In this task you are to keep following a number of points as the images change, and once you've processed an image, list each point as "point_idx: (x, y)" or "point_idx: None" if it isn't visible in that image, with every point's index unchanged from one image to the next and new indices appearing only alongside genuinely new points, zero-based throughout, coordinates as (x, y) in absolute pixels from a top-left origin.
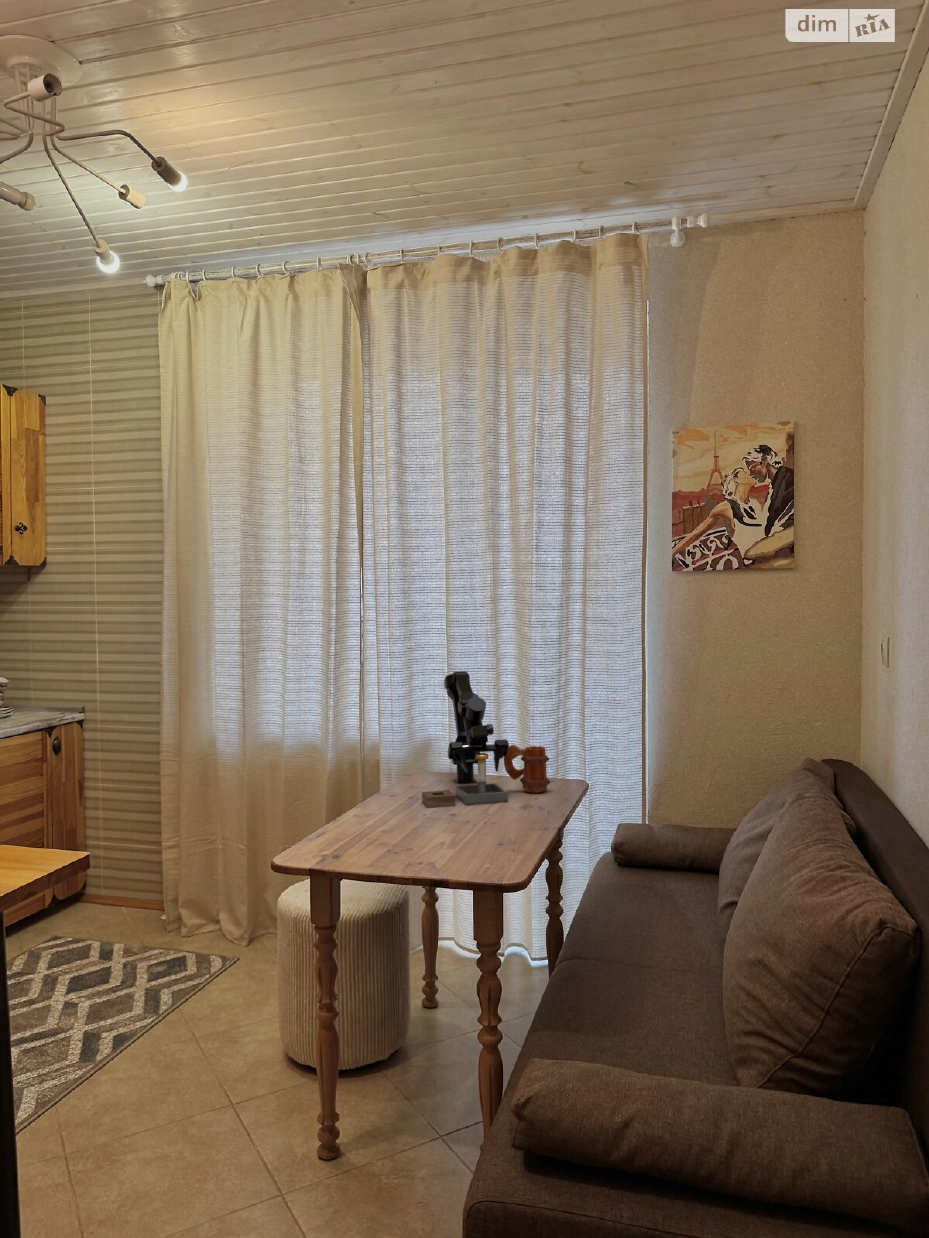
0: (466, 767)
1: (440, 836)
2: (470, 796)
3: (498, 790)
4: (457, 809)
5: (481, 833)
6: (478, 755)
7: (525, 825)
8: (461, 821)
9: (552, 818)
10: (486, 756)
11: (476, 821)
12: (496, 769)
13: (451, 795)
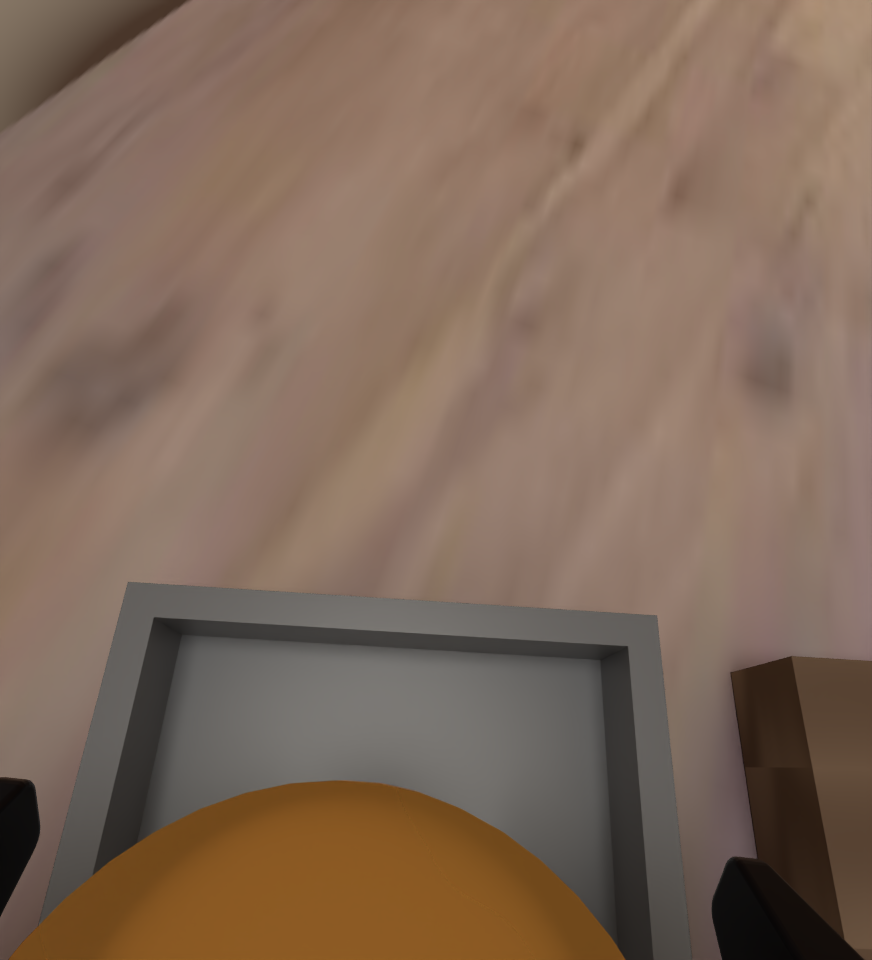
0: (833, 952)
1: (851, 34)
2: (599, 615)
3: None
4: (719, 516)
5: (642, 6)
6: (587, 909)
7: (373, 27)
8: (721, 207)
9: (147, 73)
10: (185, 823)
11: (626, 175)
12: (22, 804)
13: (831, 685)
